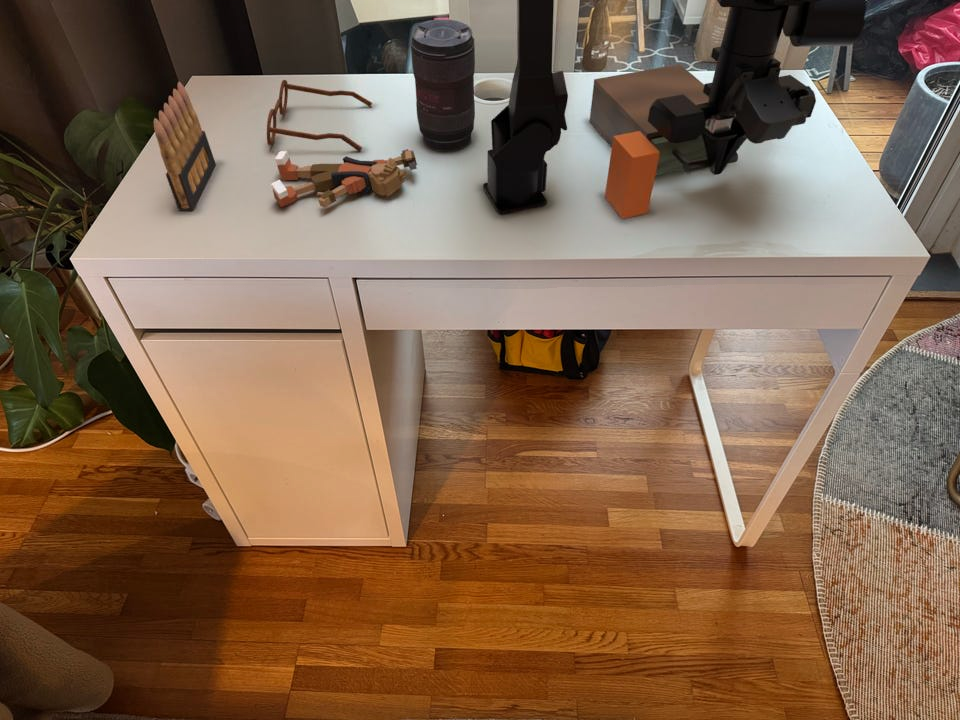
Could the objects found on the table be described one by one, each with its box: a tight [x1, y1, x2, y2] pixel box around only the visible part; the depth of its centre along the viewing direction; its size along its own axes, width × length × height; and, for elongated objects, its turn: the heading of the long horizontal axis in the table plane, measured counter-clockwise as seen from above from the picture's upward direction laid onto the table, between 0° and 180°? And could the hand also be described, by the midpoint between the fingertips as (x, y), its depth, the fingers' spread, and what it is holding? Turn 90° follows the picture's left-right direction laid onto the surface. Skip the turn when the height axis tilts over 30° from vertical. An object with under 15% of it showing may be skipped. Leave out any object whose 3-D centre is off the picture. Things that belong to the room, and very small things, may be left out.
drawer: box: [650, 135, 739, 176], centre depth 94 cm, size 19×12×5 cm, turn 19°
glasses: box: [266, 79, 373, 152], centre depth 100 cm, size 13×13×5 cm
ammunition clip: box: [153, 81, 217, 212], centre depth 88 cm, size 11×2×12 cm, turn 179°
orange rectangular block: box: [604, 131, 660, 220], centre depth 85 cm, size 5×4×8 cm
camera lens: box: [410, 18, 476, 152], centre depth 94 cm, size 8×8×15 cm
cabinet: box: [589, 63, 709, 148], centre depth 96 cm, size 15×13×6 cm
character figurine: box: [271, 148, 418, 209], centre depth 90 cm, size 12×5×18 cm
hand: (715, 173), depth 87 cm, fingers closed, pressing on drawer
